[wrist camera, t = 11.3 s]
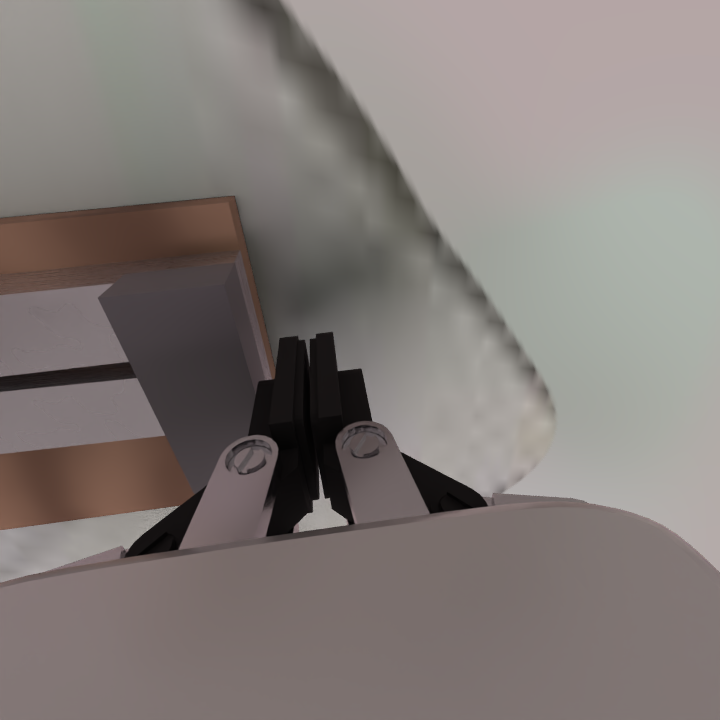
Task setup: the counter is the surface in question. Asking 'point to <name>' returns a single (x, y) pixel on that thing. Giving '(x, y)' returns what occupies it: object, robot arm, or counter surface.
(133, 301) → the tab
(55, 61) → the counter surface
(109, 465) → the walnut board
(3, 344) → the tongs fixed
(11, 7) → the counter surface
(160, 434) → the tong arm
